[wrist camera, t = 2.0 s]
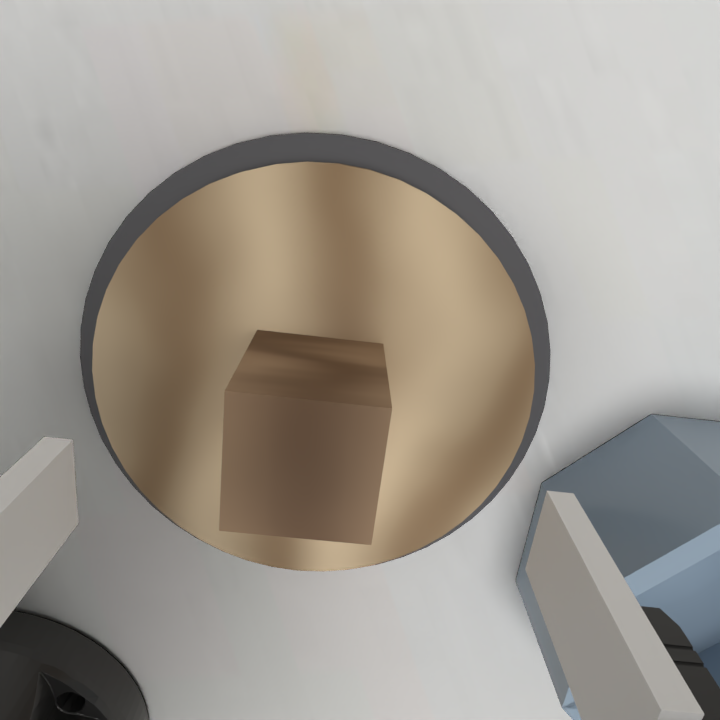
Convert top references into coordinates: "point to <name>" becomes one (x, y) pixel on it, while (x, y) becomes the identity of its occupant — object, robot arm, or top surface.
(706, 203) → the top surface
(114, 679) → the robot arm
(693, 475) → the bowl
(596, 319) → the top surface
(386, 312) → the lid
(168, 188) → the mat
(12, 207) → the top surface
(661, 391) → the top surface
